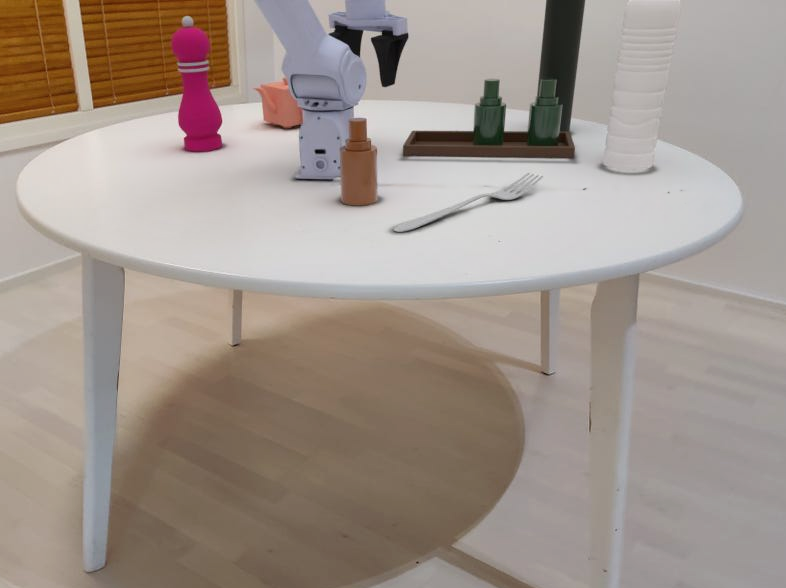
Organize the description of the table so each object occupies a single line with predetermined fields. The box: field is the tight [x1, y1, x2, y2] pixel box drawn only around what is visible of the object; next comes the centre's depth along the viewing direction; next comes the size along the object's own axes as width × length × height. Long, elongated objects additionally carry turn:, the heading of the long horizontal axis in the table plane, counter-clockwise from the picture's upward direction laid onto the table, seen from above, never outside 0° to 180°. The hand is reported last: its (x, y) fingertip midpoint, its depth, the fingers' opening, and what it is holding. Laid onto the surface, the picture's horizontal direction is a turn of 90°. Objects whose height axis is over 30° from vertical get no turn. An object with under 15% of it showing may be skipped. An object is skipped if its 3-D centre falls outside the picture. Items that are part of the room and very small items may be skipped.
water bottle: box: [601, 0, 682, 171], centre depth 92 cm, size 9×6×25 cm
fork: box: [393, 172, 544, 233], centre depth 85 cm, size 3×24×2 cm, turn 128°
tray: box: [402, 130, 576, 160], centre depth 108 cm, size 11×25×2 cm, turn 77°
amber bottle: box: [339, 117, 378, 207], centre depth 87 cm, size 5×5×10 cm
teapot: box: [252, 76, 303, 129], centre depth 131 cm, size 12×15×8 cm
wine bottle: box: [536, 0, 586, 132], centre depth 111 cm, size 6×6×30 cm
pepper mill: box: [170, 15, 223, 152], centre depth 114 cm, size 7×7×20 cm
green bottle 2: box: [526, 78, 563, 146], centre depth 104 cm, size 5×5×10 cm
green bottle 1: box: [472, 78, 507, 146], centre depth 106 cm, size 5×5×10 cm
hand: (370, 82), depth 107 cm, fingers open, 7 cm apart
